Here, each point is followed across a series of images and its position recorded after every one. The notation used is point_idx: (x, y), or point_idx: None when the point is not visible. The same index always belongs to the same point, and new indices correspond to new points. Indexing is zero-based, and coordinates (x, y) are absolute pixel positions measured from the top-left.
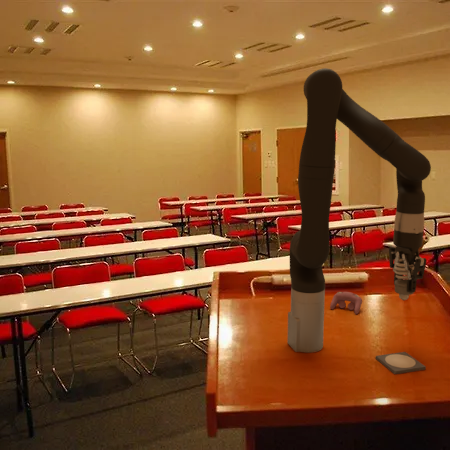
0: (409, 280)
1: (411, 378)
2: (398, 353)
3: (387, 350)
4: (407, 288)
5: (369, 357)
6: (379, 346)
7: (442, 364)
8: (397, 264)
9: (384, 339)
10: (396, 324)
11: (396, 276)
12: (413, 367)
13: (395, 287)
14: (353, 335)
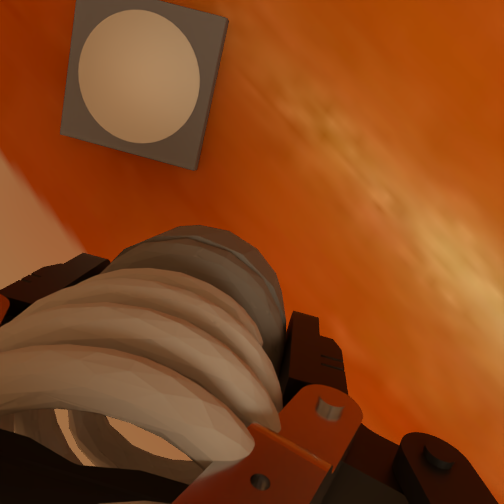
0: (14, 299)
1: (34, 23)
2: (194, 130)
3: (261, 134)
4: (84, 263)
5: (252, 4)
6: (309, 134)
7: (72, 224)
8: (105, 363)
9: (348, 209)
10: (426, 373)
11: (190, 277)
12: (73, 83)
13: (225, 239)
14: (468, 116)
